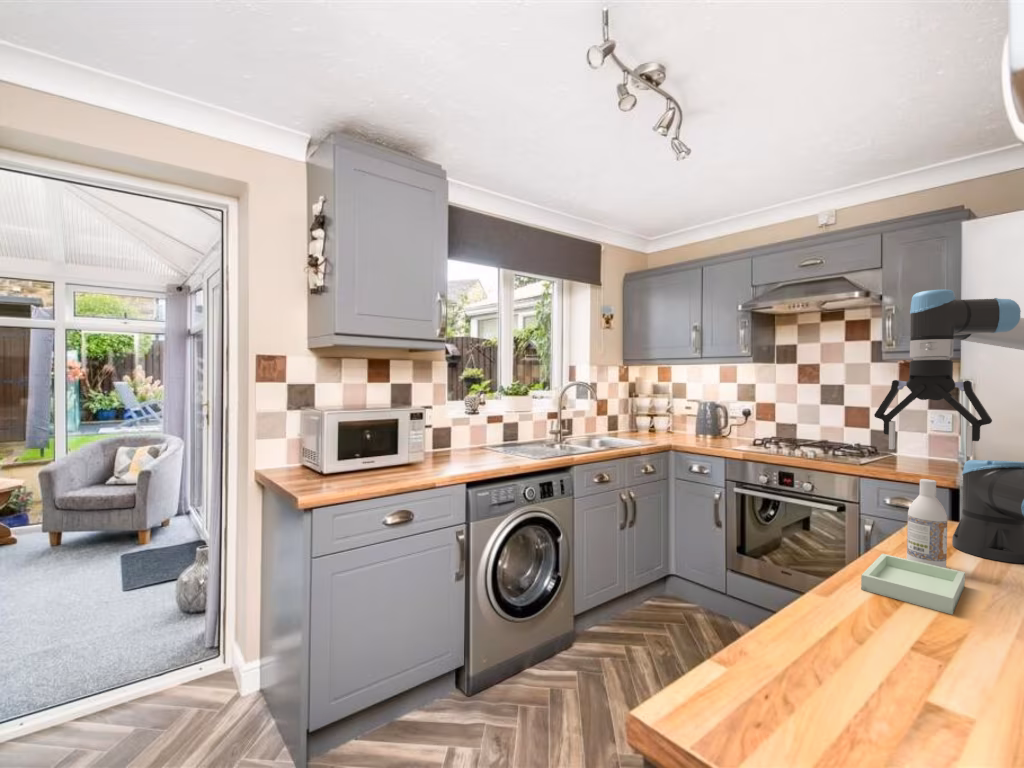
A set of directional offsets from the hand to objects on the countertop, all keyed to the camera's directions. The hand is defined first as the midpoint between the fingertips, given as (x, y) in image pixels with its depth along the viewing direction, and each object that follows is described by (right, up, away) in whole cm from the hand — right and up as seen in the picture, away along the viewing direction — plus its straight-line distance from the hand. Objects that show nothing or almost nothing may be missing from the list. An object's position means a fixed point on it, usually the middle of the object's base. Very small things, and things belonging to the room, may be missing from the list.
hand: (928, 452), depth 112 cm
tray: (-12, -27, -11) cm, 31 cm away
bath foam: (0, -27, +1) cm, 27 cm away
